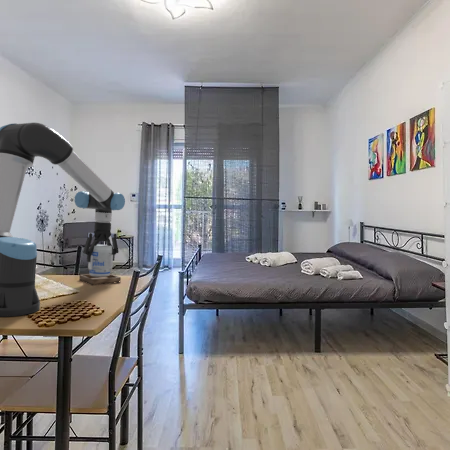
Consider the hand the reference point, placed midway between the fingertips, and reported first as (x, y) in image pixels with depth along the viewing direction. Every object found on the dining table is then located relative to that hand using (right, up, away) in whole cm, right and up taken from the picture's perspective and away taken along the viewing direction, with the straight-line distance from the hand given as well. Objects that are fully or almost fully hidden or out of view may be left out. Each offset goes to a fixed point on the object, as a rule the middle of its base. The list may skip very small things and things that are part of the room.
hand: (100, 268), depth 169 cm
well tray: (0, -6, 0) cm, 6 cm away
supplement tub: (0, -4, 0) cm, 4 cm away
